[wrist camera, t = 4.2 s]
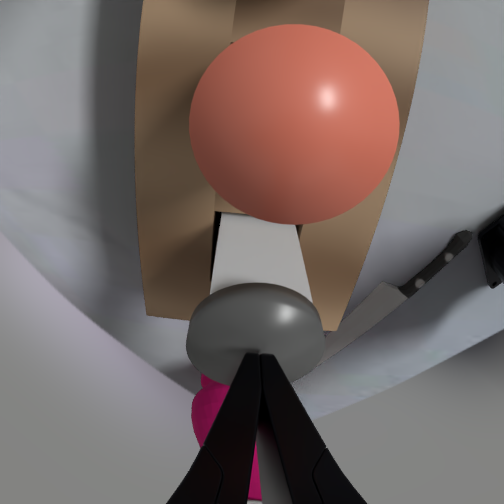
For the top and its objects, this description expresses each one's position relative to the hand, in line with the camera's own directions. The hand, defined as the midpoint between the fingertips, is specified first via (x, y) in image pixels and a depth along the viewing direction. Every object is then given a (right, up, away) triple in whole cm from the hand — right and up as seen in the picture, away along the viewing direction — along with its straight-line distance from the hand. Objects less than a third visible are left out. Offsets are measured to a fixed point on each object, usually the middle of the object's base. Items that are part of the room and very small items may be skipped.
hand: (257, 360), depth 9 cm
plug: (0, +4, +6) cm, 7 cm away
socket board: (+1, +11, +5) cm, 12 cm away
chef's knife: (+9, -1, +14) cm, 17 cm away
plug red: (+1, +9, +2) cm, 10 cm away
